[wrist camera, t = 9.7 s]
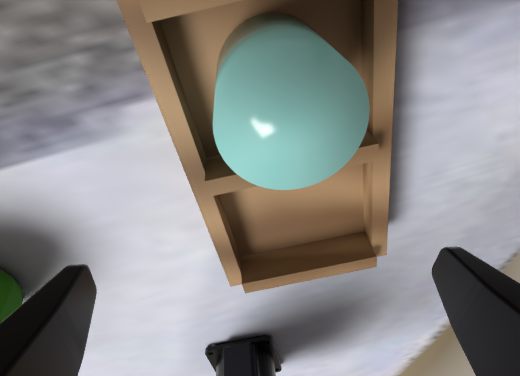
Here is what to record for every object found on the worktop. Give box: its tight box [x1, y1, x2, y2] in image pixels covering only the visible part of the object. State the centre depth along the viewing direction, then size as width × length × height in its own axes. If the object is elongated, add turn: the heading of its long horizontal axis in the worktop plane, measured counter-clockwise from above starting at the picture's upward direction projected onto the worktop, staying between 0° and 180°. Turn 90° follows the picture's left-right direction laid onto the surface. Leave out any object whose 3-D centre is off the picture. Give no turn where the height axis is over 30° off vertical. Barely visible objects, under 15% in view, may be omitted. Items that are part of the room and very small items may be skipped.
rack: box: [117, 0, 398, 293], centre depth 18 cm, size 18×11×3 cm, turn 11°
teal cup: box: [213, 13, 370, 190], centre depth 14 cm, size 6×6×6 cm
